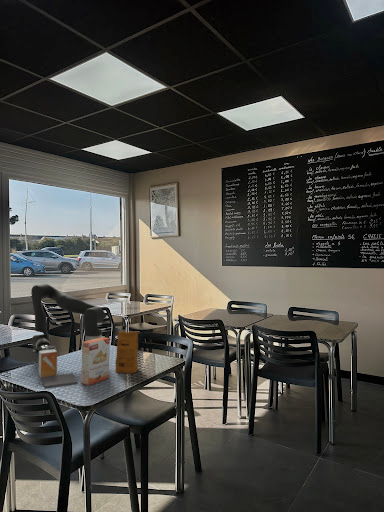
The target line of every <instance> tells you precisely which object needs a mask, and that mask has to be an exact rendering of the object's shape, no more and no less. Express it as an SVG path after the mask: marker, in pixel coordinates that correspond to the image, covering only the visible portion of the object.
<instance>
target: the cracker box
mask: <svg viewBox="0 0 384 512" xmlns="http://www.w3.org/2000/svg"><path fill="white" fill-rule="evenodd" d="M110 344H111V338H109V337H103V336H102V337H101V338H97V339H93V340H88V341H86V340H85V341H81V371H80V372H81V378H80V379H81V380H80V381H81V384H84V385H85V386H91V385H93V384H96V383H99V382H101V381H104V380H107V379H109V378H110V353H111V350H110V347H111V345H110Z"/></svg>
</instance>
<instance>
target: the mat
mask: <svg viewBox="0 0 384 512" xmlns="http://www.w3.org/2000/svg"><path fill="white" fill-rule="evenodd" d="M41 380H42V383H43V387H44V389H50V388H55V387H57V388H58V387H62V386H64V387H65V386H70V385H77V384H78V380H77V378H76V377H75V375H74V373H73V372H71V373H63V374H57V375H55V376H47V377H42V378H41Z"/></svg>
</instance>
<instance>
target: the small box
mask: <svg viewBox="0 0 384 512" xmlns="http://www.w3.org/2000/svg"><path fill="white" fill-rule="evenodd" d="M57 371H58V351H57V349H56V350H55V349H52V350H44V351H39V354H38V376H39V378H40V379H42V377H47V376H55V375H58V372H57Z"/></svg>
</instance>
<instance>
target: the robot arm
mask: <svg viewBox="0 0 384 512" xmlns="http://www.w3.org/2000/svg"><path fill="white" fill-rule="evenodd" d="M30 293H31V301H32V306H33V311H34V312H33V313H34V330H35V332H38V333H42V334H35V335H33V336H32V338H31V344H32V345H33V348H32V353H33V354H38V355H39V351H44V350H52V349H55V350H56V351H57V348H56V347H57V346H56V345H54V346H53V345H51V344H50V342H51V341H50V340H51V337H50V336H49V332H48V319H47V318H48V317H47V314H46V312H45V311H44V309H43V307H42V299H43V300H44V299H50V300H51V301H52V300H53V301H55V303H56V306H57V307H58V308H60V309H62V310H64V311H66V312H69V313H74V314H78V315H83V329H84V332H85V341H88V340H93V339H97V338H101V337H103V331H102V329H101V328H99V326H98V324H99V323H101V322H102V321H104V320H105V319H106V311H104V309H103V308H102V307H99V306H97V305H93V304H90V303H87V302H85V301H83V300H81V299H79V298H78V297H74V296H73V295H70V294H69V293H65V292H63V291H61V290H58V289H57V288H55V287H54V286H52V285H50V284H48V283H40V284H35V285H33V286H32V287H31V291H30Z"/></svg>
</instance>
